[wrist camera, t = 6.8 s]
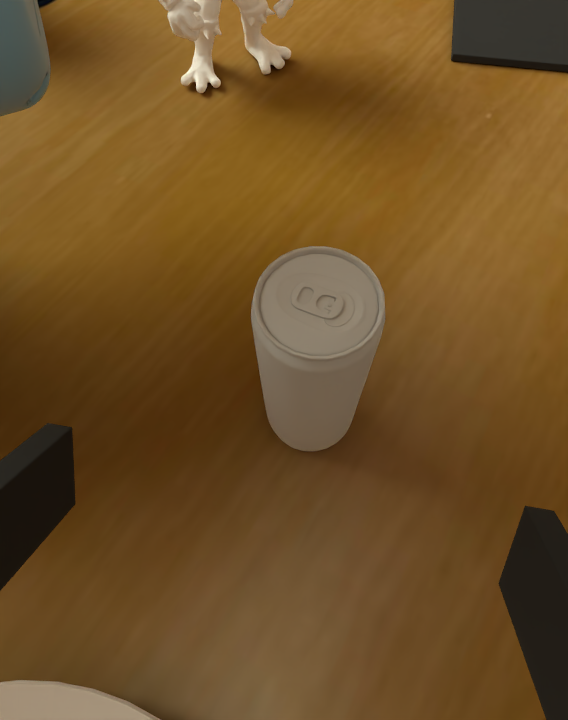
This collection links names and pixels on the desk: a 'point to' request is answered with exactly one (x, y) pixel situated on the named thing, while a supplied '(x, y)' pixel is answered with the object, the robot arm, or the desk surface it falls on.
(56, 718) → the plate
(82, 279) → the desk surface
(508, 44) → the mat
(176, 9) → the figurine
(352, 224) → the desk surface
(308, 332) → the beverage can
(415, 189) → the desk surface
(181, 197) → the desk surface
